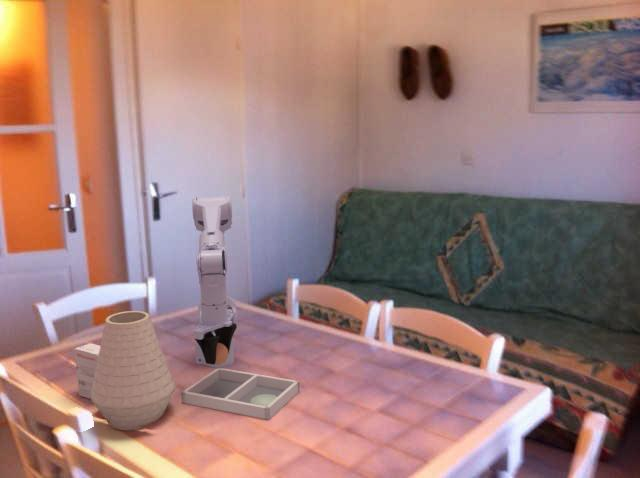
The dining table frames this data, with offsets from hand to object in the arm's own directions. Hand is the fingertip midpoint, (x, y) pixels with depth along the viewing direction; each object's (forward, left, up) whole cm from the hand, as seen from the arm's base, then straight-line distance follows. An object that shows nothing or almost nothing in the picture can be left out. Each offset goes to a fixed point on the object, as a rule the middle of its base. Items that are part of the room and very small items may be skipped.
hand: (217, 359), depth 149 cm
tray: (+6, 0, -9) cm, 11 cm away
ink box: (-27, -10, -10) cm, 30 cm away
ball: (0, 0, -1) cm, 1 cm away
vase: (-11, -16, -10) cm, 22 cm away
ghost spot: (+12, 0, -8) cm, 15 cm away
